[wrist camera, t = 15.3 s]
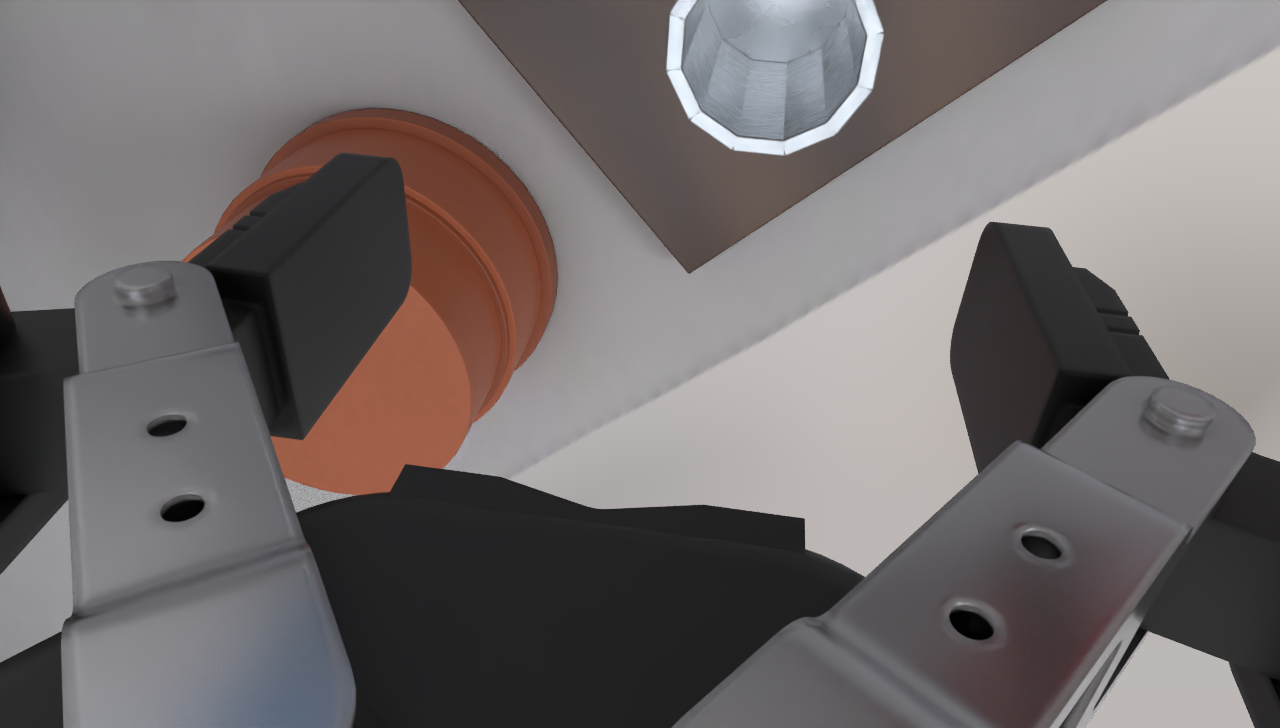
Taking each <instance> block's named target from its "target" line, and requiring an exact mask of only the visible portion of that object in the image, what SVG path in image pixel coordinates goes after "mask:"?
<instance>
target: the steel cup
mask: <svg viewBox="0 0 1280 728" xmlns="http://www.w3.org/2000/svg"><path fill="white" fill-rule="evenodd" d="M884 35H885V34H884V27H883V24H882V21H881V18H880V14H879V11H878V8H877V5H876V2H875V0H676V1H675V3H674V4H673V6H672V8H671V10H670V12H669V15H668V30H667V46H666V61H665V70H666V74H667V76H668V78H669V80H670V83H671V85H672V87H673V89H674V91H675V93H676V95H677V97H678V99H679V102H680V104H681V106H682V108H683V110H684V112H685V114H686V116H687V118H688V119H690V122H692V123H693V124H694V125H696V126H697V127H699V128H700V129H701V130H703V131H704V132H706V133H707V134H709V135H710V136H711V137H713V138H714V139H716V140H717V141H719V142H720V143H721V144H723V145H724V146H726V147H727V148H729V149H730V150H733V151H738V152H748V153H758V154H767V155H777V156H785V155H786V156H787V155H790V154H792V153H794V152H797V151H799V150H802V149H804V148H807V147H809V146H811V145H814V144H816V143H819V142H821V141H823V140H826V139H828V138H831V137H833V136H835V135H836V134H838V133H839V131H840V130H841V129H842V128H843V127H844V125H845V124H846V123H847V122H848V121H849V119H850V118H851V117H852V116H853V115H854V113H855V112H856V111H857V110H858V109H859V107H860V106H861V105H862V104H863V102H864V101H865V100H866V99H867V98H868V96H869V95H870V94H871V93H872V90H873V89H874V85H875V80H876V75H877V70H878V65H879V60H880V55H881V50H882V45H883V40H884Z"/></svg>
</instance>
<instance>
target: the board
mask: <svg viewBox="0 0 1280 728" xmlns="http://www.w3.org/2000/svg"><path fill="white" fill-rule="evenodd" d="M458 1H459V2H460V3H461V5H462V6H463V7H464V8H465V9H466V10H467V12H468V13H469V14H470V15H471V16H472V18H473V19H474V20H475V21H476V22H477V23H478V25H479V26H480V27H481V28H482V29H483V31H484V32H485V33H486V34H487V35H488V37H489V38H490V39H491V40H492V41H493V42H494V44H495V45H496V46H497V47H498V48H499V50H500V51H501V52H502V53H503V54H504V55H505V57H506V58H507V59H508V60H509V61H510V63H511V64H512V65H513V66H514V67H515V68H516V70H517V71H518V72H519V73H520V74H521V76H522V77H523V78H524V79H525V80H526V82H527V83H528V84H529V85H530V86H531V87H532V89H533V90H534V91H535V92H536V93H537V95H538V96H539V97H540V98H541V99H542V100H543V102H544V103H545V104H546V105H547V106H548V108H549V109H550V110H551V111H552V112H553V114H554V115H555V116H556V117H557V118H558V119H559V121H560V122H561V123H562V124H563V125H564V127H565V128H566V129H567V130H568V131H569V132H570V134H571V135H572V136H573V137H574V138H575V140H576V141H577V142H578V143H579V144H580V146H581V147H582V148H583V149H584V150H585V151H586V153H587V154H588V155H589V156H590V157H591V159H592V160H593V161H594V162H595V163H596V164H597V166H598V167H599V168H600V169H601V170H602V172H603V173H604V174H605V175H606V176H607V178H608V179H609V180H610V181H611V182H612V183H613V185H614V186H615V187H616V188H617V189H618V191H619V192H620V193H621V194H622V195H623V196H624V198H625V199H626V200H627V201H628V202H629V204H630V205H631V206H632V207H633V208H634V210H635V211H636V212H637V213H638V214H639V215H640V217H641V218H642V219H643V220H644V221H645V223H646V224H647V225H648V226H649V227H650V228H651V230H652V231H653V232H654V233H655V234H656V236H657V237H658V238H659V239H660V240H661V242H662V243H663V244H664V245H665V246H666V247H667V249H668V250H669V251H670V252H671V253H672V255H673V256H674V257H675V258H676V259H677V260H678V262H679V263H680V264H681V265H682V266H683V268H684V269H685V270H686V271H687V272H688V273H691V272H693V271H694V270H696V269H697V268H699V267H700V266H702V265H703V264H705V263H707V262H708V261H710V260H711V259H713V258H714V257H716V256H717V255H719V254H720V253H722V252H723V251H725V250H726V249H728V248H729V247H731V246H733V245H734V244H736V243H737V242H739V241H740V240H742V239H743V238H745V237H746V236H748V235H749V234H751V233H752V232H754V231H755V230H757V229H758V228H760V227H762V226H763V225H765V224H766V223H768V222H769V221H771V220H772V219H774V218H775V217H777V216H778V215H780V214H781V213H783V212H784V211H786V210H788V209H789V208H791V207H792V206H794V205H795V204H797V203H798V202H800V201H801V200H803V199H804V198H806V197H807V196H809V195H810V194H812V193H813V192H815V191H817V190H818V189H820V188H821V187H823V186H824V185H826V184H827V183H829V182H830V181H832V180H833V179H835V178H836V177H838V176H839V175H841V174H843V173H844V172H846V171H847V170H849V169H850V168H852V167H853V166H855V165H856V164H858V163H859V162H861V161H862V160H864V159H865V158H867V157H868V156H870V155H872V154H873V153H875V152H876V151H878V150H879V149H881V148H882V147H884V146H885V145H887V144H888V143H890V142H891V141H893V140H894V139H896V138H898V137H899V136H901V135H902V134H904V133H905V132H907V131H908V130H910V129H911V128H913V127H914V126H916V125H917V124H919V123H920V122H922V121H923V120H925V119H927V118H928V117H930V116H931V115H933V114H934V113H936V112H937V111H939V110H940V109H942V108H943V107H945V106H946V105H948V104H949V103H951V102H953V101H954V100H956V99H957V98H959V97H960V96H962V95H963V94H965V93H966V92H968V91H969V90H971V89H972V88H974V87H975V86H977V85H978V84H980V83H982V82H983V81H985V80H986V79H988V78H989V77H991V76H992V75H994V74H995V73H997V72H998V71H1000V70H1001V69H1003V68H1004V67H1006V66H1007V65H1009V64H1011V63H1012V62H1014V61H1015V60H1017V59H1018V58H1020V57H1021V56H1023V55H1024V54H1026V53H1027V52H1029V51H1030V50H1032V49H1033V48H1035V47H1037V46H1038V45H1040V44H1041V43H1043V42H1044V41H1046V40H1047V39H1049V38H1050V37H1052V36H1053V35H1055V34H1056V33H1058V32H1059V31H1061V30H1062V29H1064V28H1066V27H1067V26H1069V25H1070V24H1072V23H1073V22H1075V21H1076V20H1078V19H1079V18H1081V17H1082V16H1084V15H1085V14H1087V13H1088V12H1090V11H1092V10H1093V9H1095V8H1096V7H1098V6H1099V5H1101V4H1102V3H1104V2H1105V1H1107V0H875V2H876V5H877V8H878V11H879V14H880V18H881V21H882V24H883V27H884V34H885V35H884V40H883V45H882V50H881V55H880V60H879V65H878V70H877V75H876V80H875V85H874V89H873V90H872V93H871V94H870V95H869V96H868V98H867V99H866V100H865V101H864V102H863V104H862V105H861V106H860V107H859V109H858V110H857V111H856V112H855V113H854V115H853V116H852V117H851V118H850V119H849V121H848V122H847V123H846V124H845V125H844V127H843V128H842V129H841V130H840V131H839V133H838V134H836V135H835V136H833V137H831V138H828V139H826V140H823V141H821V142H819V143H816V144H814V145H811V146H809V147H807V148H804V149H802V150H799V151H797V152H794V153H792V154H790V155H787V156H786V155H785V156H777V155H767V154H758V153H748V152H738V151H733V150H730V149H729V148H727V147H726V146H724V145H723V144H721V143H720V142H719V141H717V140H716V139H714V138H713V137H711V136H710V135H709V134H707V133H706V132H704V131H703V130H701V129H700V128H699V127H697V126H696V125H694V124H693V123H692V122H690V119H688V118H687V116H686V114H685V112H684V110H683V108H682V106H681V104H680V102H679V99H678V97H677V95H676V93H675V91H674V89H673V87H672V85H671V83H670V80H669V78H668V76H667V74H666V70H665V61H666V46H667V30H668V15H669V12H670V10H671V8H672V6H673V4H674V3H675V1H676V0H458Z"/></svg>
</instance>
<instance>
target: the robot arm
mask: <svg viewBox="0 0 1280 728" xmlns="http://www.w3.org/2000/svg"><path fill="white" fill-rule="evenodd" d="M411 275H412V257H411V248H410V238H409V229H408V219H407V210H406V200H405V191H404V181H403V175H402V170H401V167H400V165H399V163H398V162H397V160H396V159H394V158H391V157H382V156H372V155H363V154H353V153H344V152H342V153H339V154H337V155H336V156H335V157H333V158H332V159H331V160H330V161H329V162H328V163H326V164H325V165H324V166H323V167H322V168H320V169H319V170H318V171H317V172H316V173H315V174H313V175H312V176H311V177H310V178H309V179H307V180H306V181H305V182H301V183H299V184H296V185H294V186H291V187H289V188H287V189H284V190H282V191H279V192H277V193H274V194H272V195H270V196H268V197H267V198H266V199H265V200H264V201H262V202H261V203H260V204H259V205H257V206H256V207H255V208H254V209H253V210H251V211H250V215H249V216H248V215H245V216H244V217H243V218H241V219H240V220H239V221H238V222H237V223H235V224H234V225H233V229H232V230H231V229H228V230H227V231H225V232H224V233H223V234H222V235H221V236H219V237H218V238H217V239H216V240H214V241H213V242H212V243H211V244H210V245H208V246H207V247H206V248H205V249H203V250H202V251H201V252H200V253H198V254H197V255H196V256H195V257H194V258H192V259H191V260H190V261H189V262H180V261H154V262H146V263H139V264H134V265H129V266H126V267H122V268H118V269H116V270H113V271H110V272H107V273H105V274H103V275H101V276H99V277H97V278H95V279H93V280H92V281H90V282H89V283H87V284H86V285H85V286H84V287H82V289H81V290H80V291H79V292H78V293H77V295H76V297H75V303H74V305H75V308H72V309H54V310H36V311H18V312H10V309H9V307H8V304H7V302H6V300H5V297H4V295H3V292H2V290H1V287H0V574H1V573H2V572H3V571H4V570H5V569H6V568H7V567H8V566H9V564H10V563H11V562H12V561H13V560H14V559H15V558H16V557H17V556H18V554H19V553H20V552H21V551H22V550H23V549H24V548H25V547H26V546H27V544H28V543H29V542H30V541H31V540H32V539H33V538H34V537H35V535H36V534H37V533H38V532H39V531H40V530H41V529H42V528H43V527H44V525H45V524H46V523H47V522H48V521H49V520H50V519H51V518H52V517H53V515H54V514H55V513H56V512H57V511H58V510H59V509H60V508H61V507H62V505H63V504H64V503H65V502H66V501H67V500H68V499H69V520H70V541H71V563H72V585H73V612H72V615H71V617H70V618H68V619H66V620H65V622H64V624H63V628H62V631H61V632H59V633H57V634H55V635H53V636H52V637H50V638H48V639H46V640H44V641H42V642H40V643H38V644H36V645H34V646H32V647H30V648H28V649H26V650H24V651H22V652H20V653H18V654H16V655H14V656H12V657H11V658H9V659H7V660H5V661H3V662H1V663H0V728H1086V726H1087V725H1088V724H1089V722H1090V721H1091V719H1092V718H1093V716H1094V715H1095V713H1096V712H1097V710H1098V709H1099V707H1100V706H1101V704H1102V703H1103V701H1104V700H1105V698H1106V697H1107V695H1108V694H1109V692H1110V691H1111V689H1112V688H1113V686H1114V685H1115V683H1116V682H1117V680H1118V679H1119V677H1120V676H1121V674H1122V673H1123V671H1124V669H1125V668H1126V667H1127V665H1128V664H1129V662H1130V661H1131V659H1132V658H1133V656H1134V655H1135V653H1136V652H1137V650H1138V649H1139V647H1140V646H1141V644H1142V643H1143V641H1144V640H1145V638H1146V637H1147V635H1148V633H1149V632H1152V633H1155V634H1157V635H1160V636H1163V637H1165V638H1168V639H1170V640H1173V641H1176V642H1178V643H1181V644H1184V645H1186V646H1189V647H1192V648H1194V649H1197V650H1200V651H1202V652H1205V653H1207V654H1210V655H1213V656H1215V657H1218V658H1221V659H1223V660H1226V661H1228V662H1229V664H1230V668H1231V671H1232V674H1233V676H1234V679H1235V681H1236V684H1237V686H1238V688H1239V691H1240V693H1241V695H1242V698H1243V700H1244V703H1245V705H1246V708H1247V710H1248V712H1249V714H1250V717H1251V720H1252V722H1253V725H1254V727H1255V728H1280V462H1279V461H1276V460H1273V459H1270V458H1267V457H1264V456H1261V455H1258V454H1256V453H1253V452H1252V451H1253V449H1254V447H1255V444H1256V439H1255V434H1254V431H1253V430H1252V428H1251V426H1250V425H1249V423H1248V422H1247V421H1246V420H1245V419H1244V418H1243V417H1242V415H1240V414H1239V413H1238V412H1237V411H1236V410H1235V409H1233V408H1232V407H1230V406H1229V405H1228V404H1226V403H1225V402H1223V401H1222V400H1220V399H1218V398H1216V397H1214V396H1213V395H1211V394H1208V393H1206V392H1204V391H1202V390H1200V389H1197V388H1195V387H1192V386H1189V385H1187V384H1183V383H1180V382H1176V381H1172V380H1170V379H1169V377H1168V376H1167V374H1166V373H1165V371H1164V369H1163V368H1162V366H1161V365H1160V363H1159V361H1158V360H1157V358H1156V356H1155V355H1154V353H1153V352H1152V350H1151V348H1150V347H1149V345H1148V343H1147V342H1146V340H1145V339H1144V337H1143V336H1142V335H1139V331H1140V330H1139V329H1138V327H1137V326H1136V324H1135V322H1134V321H1133V319H1132V318H1131V317H1128V311H1127V309H1126V308H1125V306H1124V305H1123V303H1122V301H1121V300H1120V298H1119V296H1118V295H1117V293H1116V292H1115V290H1114V289H1112V288H1111V287H1110V286H1108V285H1107V284H1106V283H1104V282H1103V281H1102V280H1100V279H1099V278H1098V277H1096V276H1095V275H1094V274H1092V273H1091V272H1090V271H1088V270H1087V269H1084V268H1076V267H1072V265H1071V264H1070V262H1069V260H1068V258H1067V257H1066V255H1065V253H1064V251H1063V249H1062V248H1061V246H1060V244H1059V242H1058V240H1057V239H1056V237H1055V235H1054V233H1053V232H1052V230H1051V229H1049V228H1046V227H1036V226H1025V225H1017V224H1008V223H998V222H990V223H988V224H987V225H986V227H985V229H984V231H983V232H982V235H981V238H980V240H979V243H978V247H977V250H976V253H975V257H974V260H973V263H972V267H971V270H970V274H969V277H968V281H967V284H966V287H965V291H964V294H963V298H962V301H961V304H960V308H959V311H958V314H957V318H956V321H955V325H954V329H953V334H952V340H951V349H950V364H951V371H952V375H953V378H954V382H955V386H956V390H957V394H958V397H959V401H960V405H961V409H962V413H963V416H964V420H965V424H966V428H967V432H968V436H969V439H970V443H971V447H972V451H973V454H974V458H975V462H976V466H977V469H978V475H977V476H976V477H975V478H974V479H973V480H971V481H970V482H969V483H968V484H967V485H966V486H965V487H964V488H963V489H962V490H961V491H960V492H958V493H957V494H956V495H955V496H954V497H953V498H952V499H951V500H950V501H949V502H947V503H946V504H945V505H944V506H943V507H942V508H941V509H940V510H939V511H938V512H936V513H935V514H934V515H933V516H932V517H931V518H930V519H929V520H928V521H927V522H926V523H924V524H923V525H922V526H921V527H920V528H919V529H918V530H917V531H916V532H915V533H913V534H912V535H911V536H910V537H909V538H908V539H907V540H906V541H905V542H904V543H902V544H901V545H900V546H899V547H898V548H897V549H896V550H895V551H894V552H893V553H891V554H890V555H889V556H888V557H887V558H886V559H885V560H884V561H883V562H882V563H881V564H879V565H878V567H876V568H875V569H874V570H873V571H872V572H871V573H870V574H869V575H867V576H866V577H864V576H862V575H860V574H859V573H857V572H855V571H853V570H851V569H850V568H848V567H846V566H844V565H842V564H840V563H838V562H836V561H834V560H831V559H829V558H827V557H825V556H822V555H820V554H817V553H814V552H812V551H809V550H806V549H805V519H803V518H796V517H789V516H781V515H774V514H767V513H760V512H752V511H745V510H738V509H730V508H723V507H715V506H708V505H691V506H690V505H689V506H667V507H648V508H647V507H645V508H623V509H595V508H590V507H587V506H583V505H581V504H578V503H575V502H571V501H568V500H566V499H563V498H560V497H557V496H554V495H551V494H549V493H545V492H543V491H540V490H537V489H534V488H531V487H528V486H525V485H522V484H519V483H516V482H513V481H511V480H508V479H505V478H502V477H497V476H489V475H482V474H475V473H467V472H460V471H453V470H445V469H438V468H431V467H424V466H416V465H409V464H405V466H404V467H403V469H402V471H401V473H400V475H399V476H398V478H397V480H396V482H395V484H394V485H393V487H392V489H391V491H390V492H379V493H371V494H364V495H357V496H352V497H347V498H343V499H338V500H333V501H330V502H326V503H323V504H320V505H317V506H313V507H310V508H307V509H305V510H302V511H300V512H297V513H296V512H295V509H294V506H293V503H292V500H291V497H290V494H289V490H288V487H287V484H286V481H285V478H284V475H283V472H282V469H281V466H280V463H279V460H278V457H277V454H276V451H275V448H274V445H273V442H272V439H271V436H274V437H281V438H289V439H296V440H304V438H305V437H306V436H307V434H308V433H309V431H310V430H311V429H312V427H313V426H314V425H315V423H316V422H317V420H318V419H319V418H320V416H321V415H322V414H323V412H324V411H325V410H326V408H327V407H328V405H329V404H330V403H331V401H332V400H333V399H334V397H335V396H336V394H337V393H338V392H339V390H340V389H341V388H342V386H343V385H344V384H345V382H346V381H347V379H348V378H349V377H350V375H351V374H352V373H353V371H354V370H355V368H356V367H357V366H358V364H359V363H360V362H361V360H362V359H363V357H364V356H365V355H366V353H367V352H368V351H369V349H370V348H371V347H372V345H373V344H374V342H375V341H376V340H377V338H378V337H379V336H380V334H381V333H382V331H383V330H384V329H385V327H386V326H387V325H388V323H389V322H390V321H391V319H392V318H393V316H394V315H395V314H396V312H397V311H398V310H399V308H400V307H401V305H402V304H403V303H404V301H405V299H406V297H407V294H408V291H409V287H410V282H411Z"/></svg>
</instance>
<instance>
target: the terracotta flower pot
mask: <svg viewBox="0 0 1280 728" xmlns="http://www.w3.org/2000/svg"><path fill="white" fill-rule="evenodd" d="M342 152H344V153H353V154H363V155H372V156H382V157H391V158H394V159H396V160H397V162H398V163H399V165H400V167H401V170H402V175H403V181H404V191H405V200H406V210H407V219H408V229H409V238H410V248H411V257H412V275H411V282H410V287H409V291H408V294H407V297H406V299H405V301H404V303H403V304H402V305H401V307H400V308H399V310H398V311H397V312H396V314H395V315H394V316H393V318H392V319H391V321H390V322H389V323H388V325H387V326H386V327H385V329H384V330H383V331H382V333H381V334H380V336H379V337H378V338H377V340H376V341H375V342H374V344H373V345H372V347H371V348H370V349H369V351H368V352H367V353H366V355H365V356H364V357H363V359H362V360H361V362H360V363H359V364H358V366H357V367H356V368H355V370H354V371H353V373H352V374H351V375H350V377H349V378H348V379H347V381H346V382H345V384H344V385H343V386H342V388H341V389H340V390H339V392H338V393H337V394H336V396H335V397H334V399H333V400H332V401H331V403H330V404H329V405H328V407H327V408H326V410H325V411H324V412H323V414H322V415H321V416H320V418H319V419H318V420H317V422H316V423H315V425H314V426H313V427H312V429H311V430H310V431H309V433H308V434H307V436H306V437H305V438H304V440H296V439H289V438H281V437H274V436H271V439H272V442H273V445H274V448H275V451H276V454H277V457H278V460H279V463H280V466H281V469H282V472H283V475H284V477H285V478H288V479H290V480H293V481H295V482H298V483H300V484H303V485H307V486H310V487H313V488H317V489H320V490H325V491H330V492H335V493H342V494H353V495H364V494H371V493H379V492H390V491H391V489H392V487H393V485H394V484H395V482H396V480H397V478H398V476H399V475H400V473H401V471H402V469H403V467H404V466H405V464H409V465H416V466H424V467H431V468H438V469H442V468H444V467H445V466H446V465H447V464H448V463H449V462H450V460H451V459H452V458H453V457H454V456H455V454H456V453H457V451H458V450H459V448H460V446H461V444H462V443H463V441H464V439H465V437H466V435H467V433H468V431H469V429H470V427H471V425H472V423H474V422H475V421H477V420H478V419H479V418H481V417H482V416H483V415H484V414H485V413H487V412H488V411H489V410H490V409H491V408H492V406H493V405H494V404H495V403H496V402H497V400H498V399H499V398H500V396H501V395H502V393H503V391H504V389H505V388H506V386H507V384H508V382H509V380H510V378H511V376H512V374H513V372H514V371H515V370H516V369H517V368H519V367H520V366H521V365H522V364H523V363H524V362H525V361H526V360H527V358H528V357H529V356H530V355H531V354H532V352H533V351H534V349H535V348H536V346H537V344H538V343H539V341H540V339H541V338H542V335H543V333H544V331H545V329H546V327H547V324H548V322H549V319H550V317H551V314H552V312H553V308H554V303H555V299H556V293H557V278H558V276H557V263H556V256H555V251H554V247H553V242H552V239H551V236H550V233H549V230H548V228H547V225H546V222H545V220H544V218H543V216H542V214H541V212H540V210H539V208H538V206H537V204H536V202H535V201H534V199H533V198H532V196H531V195H530V193H529V192H528V190H527V189H526V188H525V186H524V185H523V183H522V182H521V181H520V180H519V179H518V178H517V176H516V175H515V174H514V173H513V172H512V171H511V169H510V168H509V167H508V166H507V165H505V164H504V163H503V162H502V161H501V160H500V159H499V158H498V157H497V156H496V155H495V154H494V153H492V152H491V151H490V150H488V149H487V148H486V147H484V146H483V145H482V144H480V143H479V142H478V141H476V140H475V139H473V138H472V137H470V136H468V135H466V134H465V133H463V132H461V131H459V130H458V129H456V128H454V127H452V126H449V125H447V124H445V123H442V122H440V121H438V120H435V119H432V118H429V117H426V116H422V115H419V114H416V113H412V112H406V111H400V110H394V109H372V108H370V109H361V110H352V111H347V112H344V113H340V114H336V115H332V116H330V117H327V118H325V119H323V120H321V121H318V122H316V123H314V124H313V125H311V126H310V127H308V128H307V129H305V130H304V131H302V132H301V133H299V134H298V135H296V136H295V137H294V138H292V139H291V140H289V141H288V142H287V143H286V144H285V145H284V146H283V147H282V148H281V149H280V150H279V151H277V152H276V153H275V155H274V156H273V157H272V159H271V160H270V162H269V163H268V164H267V166H266V167H265V169H264V171H263V173H262V175H261V177H260V178H259V179H258V180H256V181H255V182H254V183H252V184H251V185H250V186H248V187H247V188H246V189H245V190H244V191H243V192H241V193H240V194H239V195H238V196H237V197H236V198H235V199H234V200H233V201H232V202H231V204H230V205H229V206H228V208H227V209H226V211H225V212H224V213H223V215H222V217H221V219H220V221H219V223H218V225H217V227H216V229H215V233H214V234H213V235H212V236H211V237H209V238H208V239H207V240H206V241H204V242H203V243H202V244H201V245H199V246H198V247H197V248H195V249H194V250H193V251H192V252H191V253H190V254H189V255H188V256H187V257H186V258H185V259H184V260H183V261H182V262H189V261H190V260H191V259H192V258H194V257H195V256H196V255H197V254H198V253H200V252H201V251H202V250H203V249H205V248H206V247H207V246H208V245H210V244H211V243H212V242H213V241H214V240H216V239H217V238H218V237H219V236H221V235H222V234H223V233H224V232H225V231H227V230H228V229H231V230H232V229H233V225H234V224H235V223H237V222H238V221H239V220H240V219H241V218H243V217H244V216H245V215H248V216H249V215H250V211H251V210H253V209H254V208H255V207H256V206H257V205H259V204H260V203H261V202H262V201H264V200H265V199H266V198H267V197H268V196H270V195H272V194H274V193H277V192H279V191H282V190H284V189H287V188H289V187H291V186H294V185H296V184H299V183H301V182H305V181H306V180H307V179H309V178H310V177H311V176H312V175H313V174H315V173H316V172H317V171H318V170H319V169H320V168H322V167H323V166H324V165H325V164H326V163H328V162H329V161H330V160H331V159H332V158H333V157H335V156H336V155H337V154H339V153H342Z"/></svg>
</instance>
